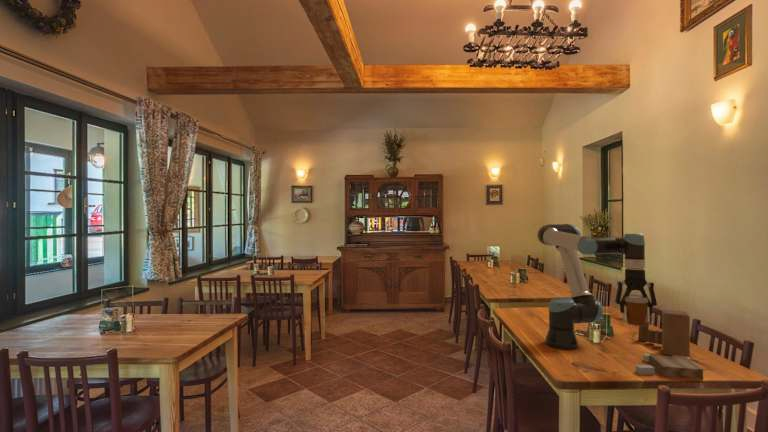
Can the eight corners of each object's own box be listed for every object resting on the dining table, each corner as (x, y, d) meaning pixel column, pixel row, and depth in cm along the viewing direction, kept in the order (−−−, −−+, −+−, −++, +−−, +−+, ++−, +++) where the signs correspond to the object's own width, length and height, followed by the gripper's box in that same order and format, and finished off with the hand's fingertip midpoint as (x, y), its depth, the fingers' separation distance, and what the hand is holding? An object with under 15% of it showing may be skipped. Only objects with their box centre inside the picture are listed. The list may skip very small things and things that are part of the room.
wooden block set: (667, 348, 197) (669, 327, 197) (648, 346, 198) (650, 325, 199) (649, 338, 215) (651, 319, 215) (632, 336, 216) (633, 317, 216)
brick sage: (643, 361, 180) (643, 355, 180) (644, 359, 182) (644, 353, 182) (659, 364, 176) (659, 358, 176) (660, 362, 178) (660, 356, 178)
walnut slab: (663, 376, 163) (663, 366, 163) (649, 363, 177) (649, 354, 177) (703, 379, 160) (703, 369, 160) (685, 366, 173) (685, 357, 173)
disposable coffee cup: (651, 327, 167) (650, 299, 167) (625, 325, 171) (624, 297, 171) (646, 322, 176) (645, 295, 176) (621, 320, 180) (621, 293, 180)
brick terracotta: (673, 363, 178) (673, 356, 178) (672, 361, 180) (672, 354, 180) (690, 365, 175) (690, 359, 175) (689, 363, 177) (689, 357, 177)
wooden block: (690, 359, 182) (689, 315, 182) (663, 355, 187) (663, 312, 187) (687, 352, 191) (687, 311, 191) (662, 349, 196) (661, 308, 196)
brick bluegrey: (640, 375, 165) (640, 367, 165) (635, 372, 168) (635, 365, 168) (654, 374, 165) (654, 367, 165) (649, 372, 168) (649, 365, 168)
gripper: (610, 269, 173) (611, 321, 173) (665, 270, 167) (667, 324, 167) (606, 267, 181) (607, 317, 180) (659, 268, 175) (660, 320, 174)
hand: (636, 320), depth 173 cm, fingers closed on disposable coffee cup, 8 cm apart
